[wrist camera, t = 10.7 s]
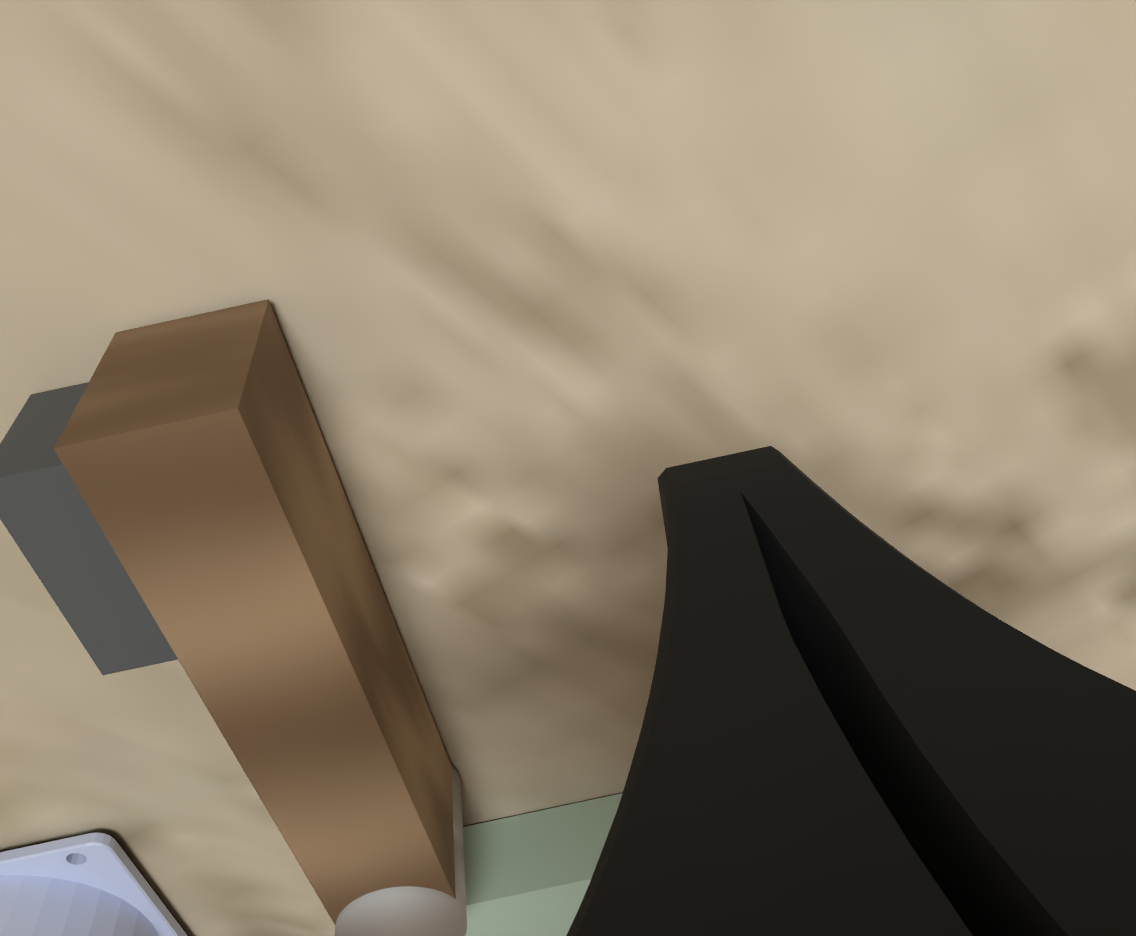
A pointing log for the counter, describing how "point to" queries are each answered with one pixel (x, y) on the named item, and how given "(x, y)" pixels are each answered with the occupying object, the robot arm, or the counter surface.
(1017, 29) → the counter surface
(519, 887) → the stool seat
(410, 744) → the folding leg
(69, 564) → the leg stop
